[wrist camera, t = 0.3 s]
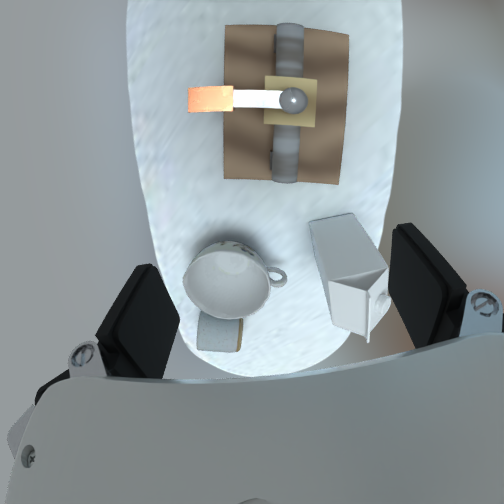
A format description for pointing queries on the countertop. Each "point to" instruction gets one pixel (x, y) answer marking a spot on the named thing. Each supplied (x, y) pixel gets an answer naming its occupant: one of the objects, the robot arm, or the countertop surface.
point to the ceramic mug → (219, 333)
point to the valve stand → (275, 119)
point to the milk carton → (350, 273)
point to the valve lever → (245, 99)
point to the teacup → (229, 280)
